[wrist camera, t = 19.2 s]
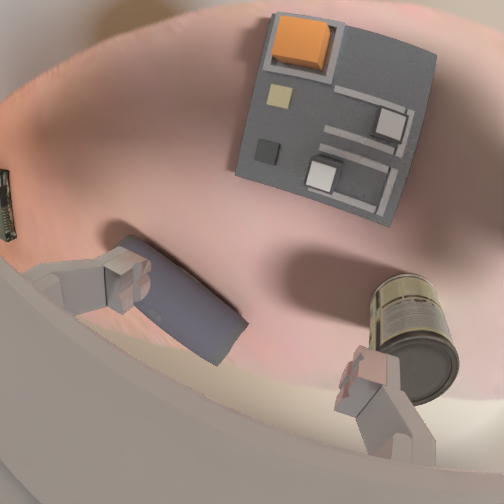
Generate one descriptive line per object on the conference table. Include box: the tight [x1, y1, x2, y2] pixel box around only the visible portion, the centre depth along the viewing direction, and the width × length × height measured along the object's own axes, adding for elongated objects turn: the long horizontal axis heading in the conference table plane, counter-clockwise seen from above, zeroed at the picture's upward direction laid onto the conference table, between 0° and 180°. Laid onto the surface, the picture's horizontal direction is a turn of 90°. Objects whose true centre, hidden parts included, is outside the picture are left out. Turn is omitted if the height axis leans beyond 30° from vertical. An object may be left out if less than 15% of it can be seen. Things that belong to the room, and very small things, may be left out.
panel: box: [235, 12, 437, 227], centre depth 31 cm, size 20×22×3 cm
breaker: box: [303, 154, 344, 195], centre depth 30 cm, size 3×3×6 cm
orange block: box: [271, 16, 331, 71], centre depth 27 cm, size 5×5×4 cm
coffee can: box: [369, 274, 459, 406], centre depth 31 cm, size 10×10×14 cm
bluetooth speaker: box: [113, 235, 249, 366], centre depth 45 cm, size 23×9×10 cm, turn 60°
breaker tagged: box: [370, 105, 409, 145], centre depth 26 cm, size 3×3×6 cm
